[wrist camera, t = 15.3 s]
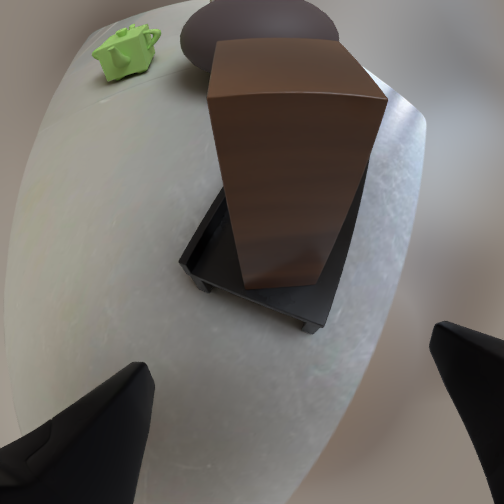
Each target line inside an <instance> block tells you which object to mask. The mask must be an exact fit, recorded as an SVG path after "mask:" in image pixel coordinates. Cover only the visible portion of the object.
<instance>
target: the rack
mask: <svg viewBox="0 0 504 504" xmlns="http://www.w3.org/2000/svg"><path fill="white" fill-rule="evenodd" d="M369 158H370V156H369ZM368 164H369V159H368V162H367V164H366V167H365V170H364V172H363V175H362V178H361V180H360V183H359V185H358V188H357V191H356V193H355V196H354V198H353V201H352V203H351V205H350V208H349V210H348V213H347V215H346V218H345V220H344V222H343V225H342V227H341V229H340V232H339V234H338V236H337V239H336V241H335V243H334V245H333V248H332V250H331V252H330V254H329V256H328V259H327V261H326V263H325V265H324V267H323V270H322V272H321V274H320V276H319V278H318V280H317V282H316V284H315V285H304V286H291V287H277V288H263V289H245V286H244V282H243V277H242V272H241V268H240V263H239V258H238V254H237V249H236V244H235V239H234V235H233V230H232V225H231V220H230V215H229V210H228V206H227V201H226V196H225V191H224V186H223V187H222V189H221V191H220V192H219V194H218V195H217V197H216V199H215V200H214V202H213V204H212V205H211V207H210V208H209V210H208V212H207V213H206V215H205V217H204V218H203V220H202V222H201V223H200V225H199V227H198V228H197V230H196V232H195V233H194V235H193V237H192V239H191V240H190V242H189V244H188V246H187V247H186V249H185V251H184V252H183V254H182V256H181V258H180V260H179V263H180V265H181V266H182V268H183V269H184V271H185V272H186V274H188V275H190V276H191V278H192V279H193V281H194V282H195V284H196V285H197V287H198V288H199V289H200V290H202V291H204V292H207V293H210V291H211V289H212V287H213V286H216V287H218V288H220V289H223V290H225V291H228V292H230V293H233V294H235V295H238V296H240V297H242V298H245V299H247V300H250V301H252V302H255V303H257V304H260V305H263V306H265V307H268V308H270V309H273V310H275V311H278V312H281V313H283V314H286V315H289V316H291V317H294V318H297V319H299V320H302V321H305V322H304V324H303V327H302V331H304V332H307V333H310V334H314V333H315V332H316V331H317V330H318V329H319V328H320V327H321V328H323V327H324V326H325V323H326V320H327V318H328V315H329V312H330V309H331V306H332V303H333V300H334V297H335V293H336V290H337V287H338V284H339V281H340V277H341V274H342V271H343V267H344V264H345V260H346V257H347V253H348V250H349V246H350V242H351V239H352V235H353V231H354V227H355V223H356V219H357V215H358V211H359V206H360V202H361V198H362V193H363V189H364V184H365V179H366V174H367V169H368Z"/></svg>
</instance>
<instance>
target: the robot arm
mask: <svg viewBox="0 0 504 504" xmlns="http://www.w3.org/2000/svg"><path fill="white" fill-rule="evenodd" d="M429 348H430V352H431V354H432V357H433V359H434V361H435V363H436V366H437V368H438V371H439V373H440V375H441V378H442V380H443V383H444V385H445V387H446V389H447V391H448V393H449V395H450V397H451V399H452V400H453V403H454V405H455V407H456V409H457V410H458V413H459V415H460V417H461V419H462V421H463V423H464V425H465V427H466V429H467V431H468V434H469V436H470V438H471V441H472V443H473V445H474V448H475V450H476V452H477V455H478V457H479V460H480V462H481V465H482V467H483V470H484V473H485V476H486V477H487V478H486V479H487V482H488V485H489V488H490V491H491V494H492V497H493V500H494V504H504V340H501V339H498V338H495V337H492V336H489V335H487V334H483V333H481V332H478V331H475V330H472V329H469V328H466V327H463V326H460V325H457V324H454V323H451V322H448V321H442V322H439V323H437V324H435V326H434V328H433V332H432V336H431V340H430V344H429ZM154 391H155V383H154V380H153V378H152V376H151V373H150V371H149V369H148V366H147V364H146V363H144V362H132V363H130V364H129V365H127V366H126V367H125V368H123V369H122V370H120V371H119V372H118V373H116V374H115V375H113V376H112V377H111V378H109V379H108V380H106V381H105V382H104V383H102V384H101V385H99V386H98V387H96V388H95V389H94V390H92V391H91V392H89V393H88V394H86V395H85V396H84V397H82V398H81V399H79V400H78V401H76V402H75V403H73V404H72V405H71V406H69V407H68V408H66V409H65V410H63V411H62V412H60V413H59V414H57V415H56V416H55V417H53V418H52V420H51V419H50V420H49V421H47V422H46V423H44V424H43V425H41V426H40V427H38V428H37V429H35V430H33V431H32V432H30V433H28V434H27V435H25V436H23V437H21V438H19V439H18V440H16V441H14V442H12V443H10V444H8V445H6V446H4V447H2V448H0V504H133V502H134V497H135V492H136V487H137V482H138V477H139V472H140V468H141V463H142V459H143V455H144V450H145V446H146V442H147V438H148V433H149V428H150V422H151V413H152V406H153V398H154Z"/></svg>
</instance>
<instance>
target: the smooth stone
mask: <svg viewBox="0 0 504 504" xmlns="http://www.w3.org/2000/svg"><path fill="white" fill-rule="evenodd" d="M251 38H307V39H322V40H332V41H339V35H338V31H337V29H336V27H335V25H334V23H333V21H332V20H331V19H330V18H329V17H328V16H327V14H326V13H324V12H323V11H321V10H320V9H319V8H317V7H316V6H314V5H313V4H311V3H309V2H306V1H304V0H215V1H213V2H211V3H209V4H208V5H206V6H204V7H202V8H201V9H199V10H198V11H197V12H196V13H194V14H193V15H192V16H191V17H190V18H189V20H188V21H187V22H186V24H185V25H184V27H183V29H182V32H181V35H180V44H181V49H182V51H183V53H184V55H185V56H186V57H187V58H188V59H189V60H190V61H191V62H192V63H193V64H194V65H195V66H197V67H199V68H201V69H203V70H205V71H207V72H209V73H211V69H212V64H213V58H214V53H215V48H216V43H217V41H225V40H236V39H251Z"/></svg>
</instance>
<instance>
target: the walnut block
mask: <svg viewBox="0 0 504 504" xmlns="http://www.w3.org/2000/svg"><path fill="white" fill-rule="evenodd" d="M387 102H388V98H387V97H386V96H385V94H384V93H383V92H382V90H381V89H380V88H379V87H378V85H377V84H376V83H375V82H374V80H373V79H372V78H371V77H370V75H369V74H368V73H367V72H366V71H365V70H364V68H363V67H362V66H361V65H360V64H359V63H358V61H357V60H356V59H355V58H354V57H353V56H352V55H351V54H350V53H349V52H348V51H347V49H346V48H345V47H344V46H343V45H342V44H341V43H340V42H339V41H332V40H322V39H307V38H251V39H236V40H225V41H217V43H216V48H215V53H214V58H213V64H212V69H211V75H210V81H209V87H208V93H207V104H208V109H209V114H210V119H211V125H212V130H213V135H214V140H215V145H216V151H217V156H218V161H219V166H220V171H221V176H222V181H223V186H224V191H225V196H226V201H227V206H228V210H229V215H230V220H231V225H232V230H233V235H234V239H235V244H236V249H237V254H238V258H239V263H240V268H241V272H242V277H243V282H244V286H245V289H263V288H277V287H291V286H304V285H315V284H316V282H317V280H318V278H319V276H320V274H321V272H322V270H323V267H324V265H325V263H326V261H327V259H328V256H329V254H330V252H331V250H332V248H333V245H334V243H335V241H336V239H337V236H338V234H339V232H340V229H341V227H342V225H343V222H344V220H345V218H346V215H347V213H348V210H349V208H350V205H351V203H352V201H353V198H354V196H355V193H356V191H357V188H358V185H359V183H360V180H361V178H362V175H363V172H364V170H365V167H366V164H367V162H368V159H369V156H370V153H371V151H372V148H373V145H374V142H375V139H376V136H377V133H378V130H379V127H380V124H381V121H382V118H383V115H384V112H385V109H386V106H387Z"/></svg>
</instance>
